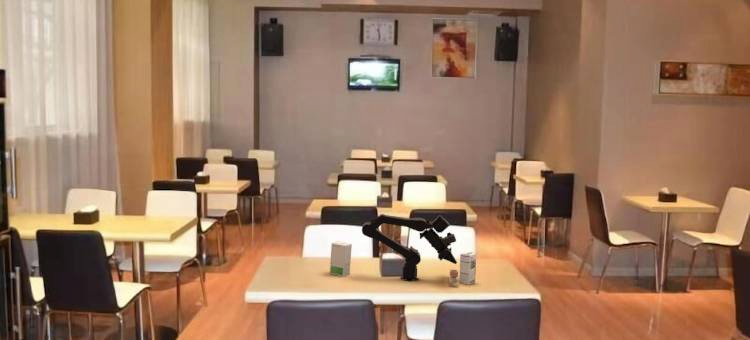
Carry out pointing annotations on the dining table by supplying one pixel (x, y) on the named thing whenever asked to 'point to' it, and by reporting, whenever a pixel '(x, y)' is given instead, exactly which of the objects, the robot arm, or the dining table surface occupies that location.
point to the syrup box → (467, 268)
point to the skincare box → (340, 258)
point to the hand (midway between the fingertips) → (456, 263)
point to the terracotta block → (454, 273)
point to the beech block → (453, 281)
